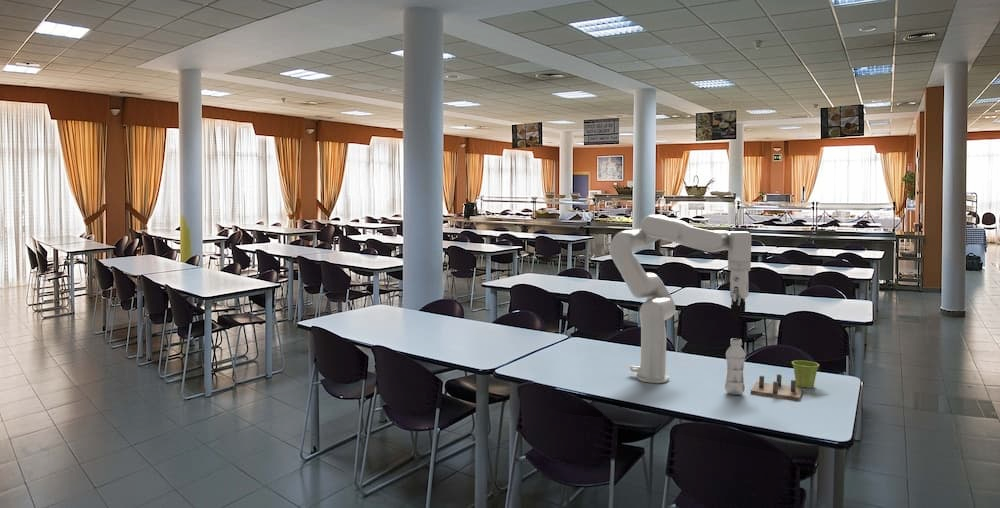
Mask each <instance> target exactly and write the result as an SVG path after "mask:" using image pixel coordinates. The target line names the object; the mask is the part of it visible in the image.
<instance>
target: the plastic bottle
mask: <svg viewBox="0 0 1000 508" xmlns="http://www.w3.org/2000/svg"><path fill="white" fill-rule="evenodd" d="M729 345H730V346H729V347H728V348H727V350H726V352H725V359H726V371H727V372H726V378H725V382H724V383H725V384H724V388H725V390H724V391H726V393H727V394H729V395H733V396H738V395H743V394H744V393H745V388H746V387H745V382H744V381H745V380H744V366H745V360H746V353H745V351H744V348H743V347H742V346H743V341H742V339H741V338H735V337H733V338H730V344H729Z"/></svg>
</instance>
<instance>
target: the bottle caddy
mask: <svg viewBox="0 0 1000 508" xmlns="http://www.w3.org/2000/svg"><path fill="white" fill-rule="evenodd" d="M758 378H759V381H755V383H754V384H753V386H752V388H751V389H750V394H751V395H755V396H757V395H758V396H763V397H764V396H765V397H771V398H776V399H777V398H778V399H783V400H790V401H791V400H792V401H798V402H799V401H801V398H802V395H803V391H804V387H799V386H797V385H796V380H795V379H790V385H784V384H782V374H779V373H777V374H776V381H773V382H772V383H770V382H765V375H759V377H758Z"/></svg>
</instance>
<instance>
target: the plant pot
mask: <svg viewBox="0 0 1000 508" xmlns="http://www.w3.org/2000/svg"><path fill="white" fill-rule="evenodd" d="M791 365H792V367H793V372H794V380H796V387H800V388H806V389H812V388H814V387H815V381H816V376H817V372H818V369H819V367H820V364H819V363H817V362H815V361H809V360H793V361H791Z"/></svg>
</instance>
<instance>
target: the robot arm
mask: <svg viewBox="0 0 1000 508" xmlns="http://www.w3.org/2000/svg"><path fill="white" fill-rule="evenodd" d="M658 240H663V241H667V242H671V243H675V244H678V245H680V246H685V247H688V248H691V249H694V250H698V251H699V250H700V251H703V252H707V253H715V252H717V253H718V252H722V251H728V253H727V260H728V261H727V271H730V279H729V280H730V281H729V282H730V284H729V297H730V299H731V301H730V316H731V317H737V318H738V317H739V318H741V315H742V314H741V313H745V312H746V299H747V298H748V297H749V272H750V271H751V264H752V261H751V259H752V234H751V232H749V231H745V230H743V231H739V230H738V231H737V230H736V231H729V230H724V229H723V230H722V229H717V230H709V229H703V228H699V227H694V226H692V225H689V224H688V222H686V221H684V220H680V219H675V218H670V217H667V216H666V215H663V214H648V215H646V216H645V217H643V218H642V220H641V222H640V226H638V227H637V228H635V229H625V230H621V231H619V232H617V233H616V234H615V235H614V236H613V238H612V240H611V242H610V246H609V251H610V257H611V259H612V261H613V263H614V265H615V267H616V268H617V270H618V272H619V273H620V274H621V278H622V279H623V280H624V283H625V285H626V286H627V288H628V289H629V291H630V292H631V294H632V296H633V297H635V298H638V299H646V300H645V301H644V302H643V303H642V304H641V305H640V309H639V321H640V365H638V366H637V365H633V364H632V365H630V368H629V370H630V371H631V372H633V373H634V372H636V375H635V376H636V377H635V378H636V379H637V380H638V381H640V382H644V383H648V384H649V383H650V384H662V383H663V384H664V383H667V382H669V381H670V375H668V374H666V371H667V370H666V368H667V364H666V361H667V359H666V358H667V328H666V320H668V319H671V318H672V317H673V316H674V315H675V313H676V303H675V302H674V299H673V297H672V295H671V294H670V293H669V291H668V288H667V287H666V286H665V284H664V282H663V280H662V279H661V278H660V277H659V276H658V274H656V273H654V272H646V271H645V269H644V268H643V266H642V264H641V263H640V261H639V260H638V259H637V257H635V255H634V254H633V252H635V251H640V250H643V249H646V248H647V247H648V246H651V244H654V243H655V242H657V241H658Z"/></svg>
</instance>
